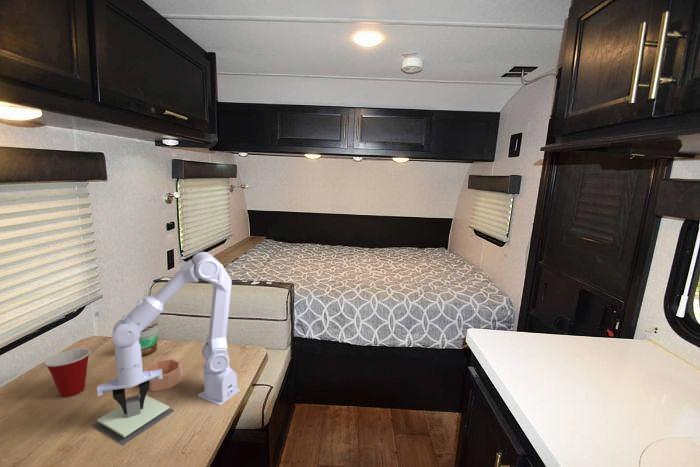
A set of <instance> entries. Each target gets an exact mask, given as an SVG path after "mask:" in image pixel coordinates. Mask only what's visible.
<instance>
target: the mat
mask: <svg viewBox="0 0 700 467" xmlns="http://www.w3.org/2000/svg"><path fill="white" fill-rule="evenodd" d="M174 412H175V410H174V409H172V408H170V407H169V409H167V410H166V411H164V412H163V413H161V414H160V415H158V416H156V417H155V418H153V419H152V420H150V421H149V422H147V423H146V424H144V425H143V426H141V427H140V428H138V429H137V430H135V431H133V432H132V433H130V434H129V435H127V436H126V437H123V436H121V435H120V434H118V433H116V432H115V431H113V430H111V429H110V428H108V427H106V426H105V425H103V424H101V423H100V422H98V421H97V422H96V423H94V424H92V425H91V428H93V429H95V430H97V431H98V432H100V433H102V434H103V435H104V436H106V437H108V438H109V439H111V440H113V441H115V442H116V443H117V444H119V445H121V446H125V445H126V444H127V443H129V442H131V441H132V440H133V439H135V438H136V437H138V436H140V435H141V434H142V433H144V432H145V431H147V430H148V429H150V428H151V427H153V426H155V425H156V424H157V423H159V422H161V421H162V420H163V419H165V418H166V417H169V415H171V414H173V413H174Z"/></svg>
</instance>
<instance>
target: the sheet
mask: <svg viewBox="0 0 700 467" xmlns="http://www.w3.org/2000/svg"><path fill="white" fill-rule="evenodd" d="M126 407H127V414H124V412H123V409H122V407H121V406H120V405H119V406H118V407H117V408H115V409H113V410H111V411H110V412H108V413H106V414H104V415H102V416H101V417H99V418H97V419H96V420H97V422H100V423H101V424H103V425H105V426H106V427H108V428H110V429H111V430H113V431H115V432H116V433H118V434H120V435H121V436H123V437H126V436H127V435H129V434H130V433H132V432H133V431H135V430H137V429H138V428H140V427H141V426H143V425H144V424H146V423H147V422H149V421H150V420H152V419H153V418H155V417H156V416H158V415H160V414H161V413H163V412H164V411H166V410H167V409H169V408H170V406H169V405H168V404H166V403H163V402H161V401H160V400H157V399H155V398H153V397H151V396H148V394H146V397H145V400H144V405H143V409H140V394H136V395H133V396H129V397H126Z"/></svg>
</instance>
